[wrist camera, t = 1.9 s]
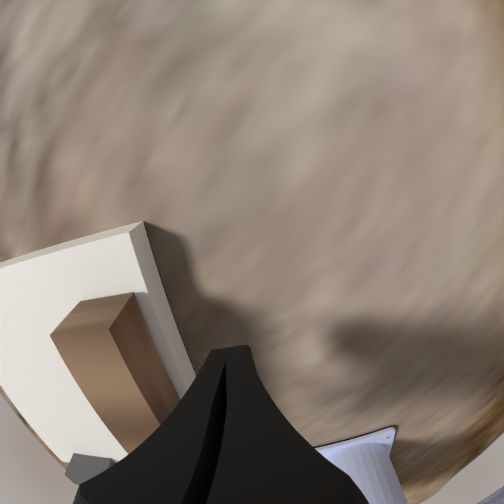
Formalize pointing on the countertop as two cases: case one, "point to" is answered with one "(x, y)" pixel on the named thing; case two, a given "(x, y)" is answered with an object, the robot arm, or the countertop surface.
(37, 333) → the stool seat
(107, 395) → the folding leg
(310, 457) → the robot arm
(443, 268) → the countertop surface
